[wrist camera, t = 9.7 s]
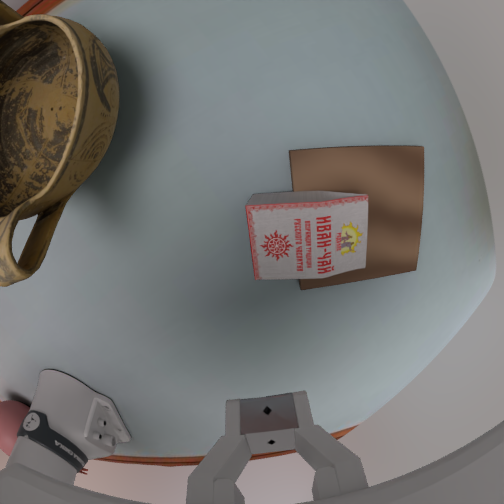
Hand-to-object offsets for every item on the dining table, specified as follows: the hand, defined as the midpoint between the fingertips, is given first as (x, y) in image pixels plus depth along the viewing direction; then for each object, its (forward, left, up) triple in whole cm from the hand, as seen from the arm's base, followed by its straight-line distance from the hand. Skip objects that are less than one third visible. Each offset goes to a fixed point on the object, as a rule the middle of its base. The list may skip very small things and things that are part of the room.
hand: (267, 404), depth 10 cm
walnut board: (0, -11, -19) cm, 22 cm away
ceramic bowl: (+15, +16, -19) cm, 29 cm away
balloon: (-38, +58, -19) cm, 72 cm away
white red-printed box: (0, 0, -17) cm, 17 cm away
